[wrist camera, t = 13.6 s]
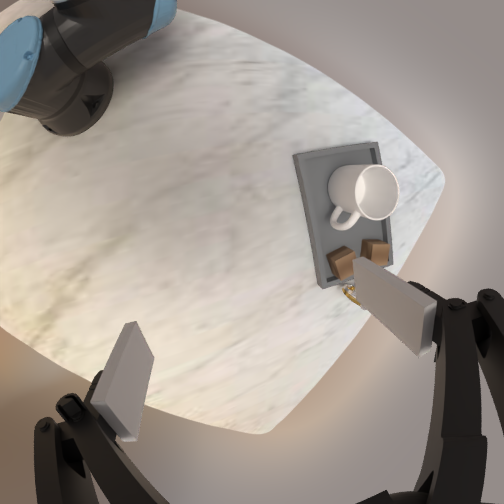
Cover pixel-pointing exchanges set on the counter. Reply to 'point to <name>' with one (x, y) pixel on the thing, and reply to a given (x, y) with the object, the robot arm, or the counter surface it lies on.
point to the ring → (350, 289)
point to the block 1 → (341, 262)
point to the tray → (321, 207)
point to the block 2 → (375, 251)
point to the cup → (362, 193)
